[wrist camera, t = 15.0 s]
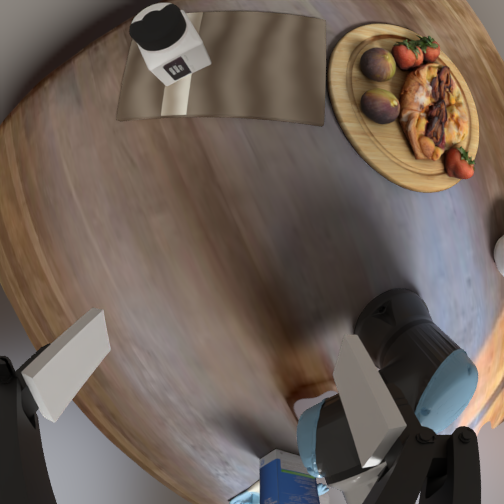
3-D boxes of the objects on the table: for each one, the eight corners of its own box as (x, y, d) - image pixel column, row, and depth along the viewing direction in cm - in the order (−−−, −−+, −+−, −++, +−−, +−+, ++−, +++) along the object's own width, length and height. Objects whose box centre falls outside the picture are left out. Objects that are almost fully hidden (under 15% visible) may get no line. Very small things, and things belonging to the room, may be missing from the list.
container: (212, 64, 33) (194, 21, 20) (166, 87, 34) (131, 55, 21) (194, 32, 31) (172, -12, 19) (151, 54, 32) (116, 18, 20)
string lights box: (258, 459, 56) (256, 539, 31) (276, 447, 54) (279, 534, 29) (296, 469, 57) (302, 542, 32) (314, 458, 56) (326, 535, 31)
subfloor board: (323, 24, 32) (325, 19, 30) (321, 126, 37) (324, 124, 35) (140, 24, 32) (137, 20, 30) (120, 121, 37) (116, 119, 35)
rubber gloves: (337, 482, 61) (340, 496, 55) (287, 511, 69) (287, 523, 63) (264, 474, 59) (264, 490, 53) (223, 502, 67) (222, 515, 60)
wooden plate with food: (487, 175, 37) (514, 176, 29) (362, 213, 40) (385, 219, 32) (435, 32, 30) (454, 17, 22) (296, 34, 33) (303, 7, 25)
